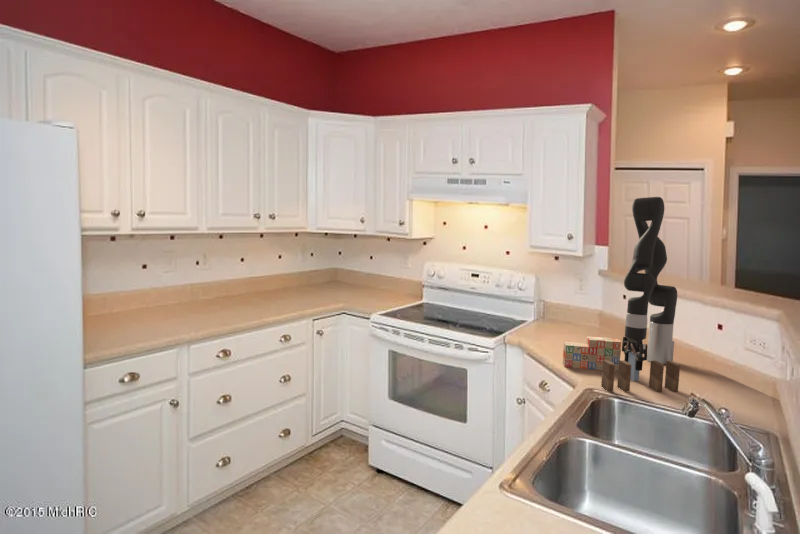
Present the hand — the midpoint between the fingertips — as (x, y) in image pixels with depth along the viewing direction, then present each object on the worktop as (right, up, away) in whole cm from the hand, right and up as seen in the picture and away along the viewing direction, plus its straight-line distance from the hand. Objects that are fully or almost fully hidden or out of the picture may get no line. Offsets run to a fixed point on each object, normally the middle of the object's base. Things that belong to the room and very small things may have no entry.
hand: (632, 367), depth 202 cm
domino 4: (+9, -6, -11) cm, 15 cm away
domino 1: (-9, -6, -12) cm, 16 cm away
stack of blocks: (-11, -3, +16) cm, 19 cm away
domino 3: (+3, -6, -11) cm, 13 cm away
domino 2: (0, -5, +1) cm, 5 cm away
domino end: (-15, -6, -13) cm, 20 cm away
